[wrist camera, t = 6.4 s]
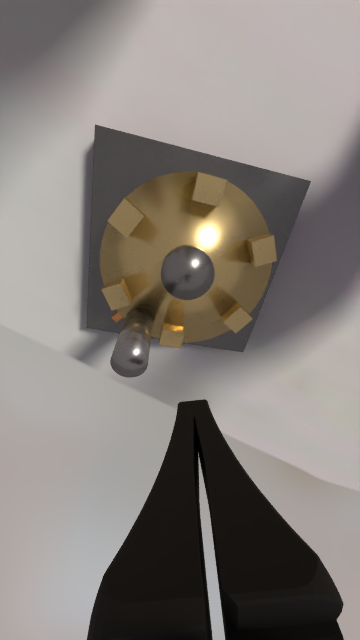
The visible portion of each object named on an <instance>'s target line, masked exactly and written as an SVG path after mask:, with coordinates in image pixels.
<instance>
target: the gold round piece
mask: <svg viewBox="0 0 360 640" xmlns="http://www.w3.org/2000/svg"><path fill="white" fill-rule="evenodd" d="M274 261H277V257H276V249H275V240H274V235H272V234H270V233H269V230H268V227H267V224H266V222H265V220H264V218H263V216H262V214H261V212H260V210H259V209H258V208H257V206H256V205H255V203H254V202H253V201H252V200H251V199H250V198H249V197H248V196H247V195H246V194H245V193H244V192H243V191H242V190H240V189H239V188H238V187H236V186H235V185H234V184H232V183H230V182H228V181H227V180H226V179H222V178H219V177H217V176H214V175H211V174H206V173H201V172H176V173H170V174H166V175H162V176H159V177H156V178H154V179H152V180H150V181H147V182H146V183H144V184H142V185H141V186H139V187H138V188H136V189H135V190H134V191H132V192H131V193H130V194H129V195H128V196H127V197H125V198H124V199H123V201H122V202H121V203H120V204H119V206H118V207H117V208H116V210H115V211H114V213H113V214H112V215H111V217H110V218H109V219H108V224H107V226H106V228H105V231H104V235H103V238H102V242H101V249H100V269H101V276H102V280H103V284H104V286H103V287H102V289H101V290H102V292H103V294H104V296H105V298H106V300H107V302H108V304H109V306H110V308H111V310H115V309H117V311H118V312H119V313H120V314H121V315H122V316H123V317H124V318H125V319H124V322H123V325H122V328H121V331H120V333H119V336H118V339H117V342H116V345H115V348H114V351H113V354H112V357H111V366H112V368H113V370H114V371H115V372H116V373H117V374H119V375H121V376H124V377H136V376H139V375H141V374H142V373H144V372H145V370H146V369H147V366H148V357H149V349H150V341H151V336H152V337H155V338H157V339H159V345H161V346H167V347H173V348H179V349H180V348H181V345H182V343H191V342H199V341H204V340H208V339H211V338H214V337H217V336H219V335H221V334H223V333H225V332H227V331H229V330H230V329H231V330H232V331H234V332H235V333H237V332H238V331H239V330H241V329H242V328H243V327H244V326H245V325H246V324H248V323H249V322H250V321H251V320H252V319H253V318H252V317H251V315H250V313H251V311H252V310H253V309H254V308H255V307H256V305H257V303H258V302H259V300H260V299H261V297H262V295H263V293H264V291H265V289H266V286H267V283H268V281H269V277H270V273H271V268H272V262H274Z"/></svg>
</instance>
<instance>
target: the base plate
mask: <svg viewBox="0 0 360 640" xmlns="http://www.w3.org/2000/svg"><path fill="white" fill-rule="evenodd" d="M176 172H201V173H206V174H211V175H214V176H217V177H219V178H222V179H226V180H227V181H228V182H230V183H232V184H234V185H235V186H236V187H238V188H239V189H240V190H242V191H243V192H244V193H245V194H246V195H247V196H248V197H249V198H250V199H251V200H252V201H253V202H254V203H255V205H256V206H257V208H258V209H259V210H260V212H261V214H262V216H263V218H264V220H265V222H266V224H267V227H268V230H269V233H270V234H272V235H274V240H275V249H276V257H277V261H274V262H272V268H271V273H270V277H269V281H268V283H267V286H266V289H265V291H264V293H263V295H262V297H261V299H260V300H259V302H258V303H257V305H256V307H255V308H254V309H253V310H252V311H251V313H250V315H251V317H252V318H253V319H252V320H251V321H250V322H249V323H248V324H246V325H245V326H244V327H243V328H242V329H241V330H239V331H238V332H237V333H235V332H234V331H232V330H231V329H230V330H229V331H227V332H225V333H223V334H221V335H219V336H217V337H214V338H211V339H208V340H204V341H199V342H191V343H187V344H194V345H200V346H206V347H213V348H219V349H226V350H232V351H239V352H243V351H244V348H245V346H246V343H247V341H248V338H249V336H250V333H251V331H252V328H253V326H254V323H255V321H256V318H257V316H258V313H259V311H260V308H261V306H262V303H263V301H264V298H265V296H266V293H267V291H268V288H269V285H270V283H271V280H272V278H273V275H274V273H275V270H276V268H277V265H278V263H279V260H280V258H281V255H282V253H283V250H284V248H285V245H286V243H287V240H288V238H289V235H290V233H291V230H292V228H293V225H294V223H295V220H296V218H297V215H298V213H299V210H300V208H301V205H302V202H303V200H304V197H305V195H306V192H307V190H308V187H309V185H310V182H311V181H308V180H304V179H300V178H296V177H292V176H289V175H285V174H281V173H277V172H273V171H270V170H266V169H262V168H258V167H254V166H251V165H247V164H243V163H239V162H235V161H232V160H228V159H224V158H220V157H216V156H213V155H209V154H205V153H201V152H197V151H194V150H190V149H186V148H182V147H178V146H175V145H171V144H167V143H163V142H159V141H156V140H152V139H148V138H144V137H140V136H137V135H133V134H129V133H125V132H121V131H117V130H114V129H110V128H106V127H102V126H98V125H95V139H94V163H93V187H92V211H91V235H90V258H89V282H88V306H87V328H91V329H98V330H104V331H110V332H117V333H120V331H121V328H122V325H123V322H124V319H125V318H124V317H123V316H122V315H121V314H120V313H119V312H118V311H117V309H115V310H111V308H110V306H109V304H108V302H107V300H106V298H105V296H104V294H103V292H102V290H101V289H102V287H103V286H104V284H103V280H102V276H101V269H100V249H101V242H102V238H103V235H104V231H105V228H106V226H107V224H108V219H109V218H110V217H111V215H112V214H113V213H114V211H115V210H116V208H117V207H118V206H119V204H120V203H121V202H122V201H123V199H124V198H125V197H127V196H128V195H129V194H130V193H131V192H132V191H134V190H135V189H136V188H138V187H139V186H141V185H142V184H144V183H146V182H147V181H150V180H152V179H154V178H156V177H159V176H162V175H166V174H170V173H176ZM151 338H155V337H152V336H151ZM155 339H157V338H155Z"/></svg>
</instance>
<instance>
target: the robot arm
mask: <svg viewBox="0 0 360 640" xmlns="http://www.w3.org/2000/svg"><path fill="white" fill-rule="evenodd" d="M198 453H199V458H200V463H201V468H202V473H203V478H204V483H205V488H206V493H207V499H208V504H209V510H210V517H211V525H212V533H213V541H214V550H215V558H216V566H217V574H218V582H219V590H220V599H221V607H222V615H223V624H224V632H225V640H344V639H343V635H342V633H341V630H340V628H339V625H338V623H337V618H338V616H339V615H340V613H341V612H342V608H343V601H342V599H341V596H340V594H339V592H338V590H337V588H336V586H335V584H334V582H333V580H332V578H331V577H330V575H329V573H328V571H327V570H326V568H325V567H324V565H323V563H322V561H321V560H320V558H319V557H318V555H317V554H316V553H315V552H314V551H313V550H312V549H311V548H310V547H309V546H308V545H307V544H306V543H305V542H304V541H303V540H302V538H300V536H299V535H298V534H297V533H296V532H295V531H294V530H293V529H292V528H291V527H290V526H289V524H288V523H287V522H286V521H285V520H284V519H283V518H282V516H281V515H280V514H279V513H278V512H277V511H276V509H275V508H274V507H273V506H272V505H271V503H270V502H269V501H268V500H267V499H266V497H265V496H264V495H263V494H262V493H261V491H260V490H259V489H258V488H257V486H256V485H255V484H254V482H253V481H252V480H251V478H250V477H249V476H248V474H247V473H246V471H245V470H244V469H243V467H242V466H241V464H240V463H239V461H238V460H237V458H236V457H235V455H234V454H233V452H232V450H231V449H230V447H229V446H228V444H227V442H226V441H225V439H224V437H223V435H222V433H221V431H220V430H219V428H218V426H217V424H216V422H215V420H214V417H213V415H212V413H211V410H210V408H209V405H208V401H207V400H195V401H186V402H180V403H179V404H178V409H177V416H176V421H175V426H174V429H173V433H172V436H171V440H170V443H169V446H168V449H167V452H166V455H165V458H164V461H163V463H162V466H161V469H160V471H159V473H158V476H157V478H156V481H155V483H154V485H153V488H152V490H151V492H150V494H149V496H148V498H147V500H146V502H145V504H144V506H143V508H142V510H141V512H140V514H139V516H138V518H137V520H136V521H135V523H134V525H133V527H132V529H131V530H130V532H129V534H128V536H127V538H126V539H125V541H124V543H123V545H122V546H121V548H120V549H119V551H118V553H117V554H116V556H115V558H114V559H113V561H112V562H111V564H110V566H109V567H108V569H107V571H106V572H105V574H104V576H103V579H102V581H101V584H100V587H99V590H98V593H97V596H96V600H95V603H94V607H93V611H92V615H91V620H90V625H89V631H88V637H87V640H212V630H211V621H210V610H209V600H208V590H207V580H206V571H205V560H204V550H203V540H202V530H201V519H200V504H199V466H198V465H199V464H198Z"/></svg>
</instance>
